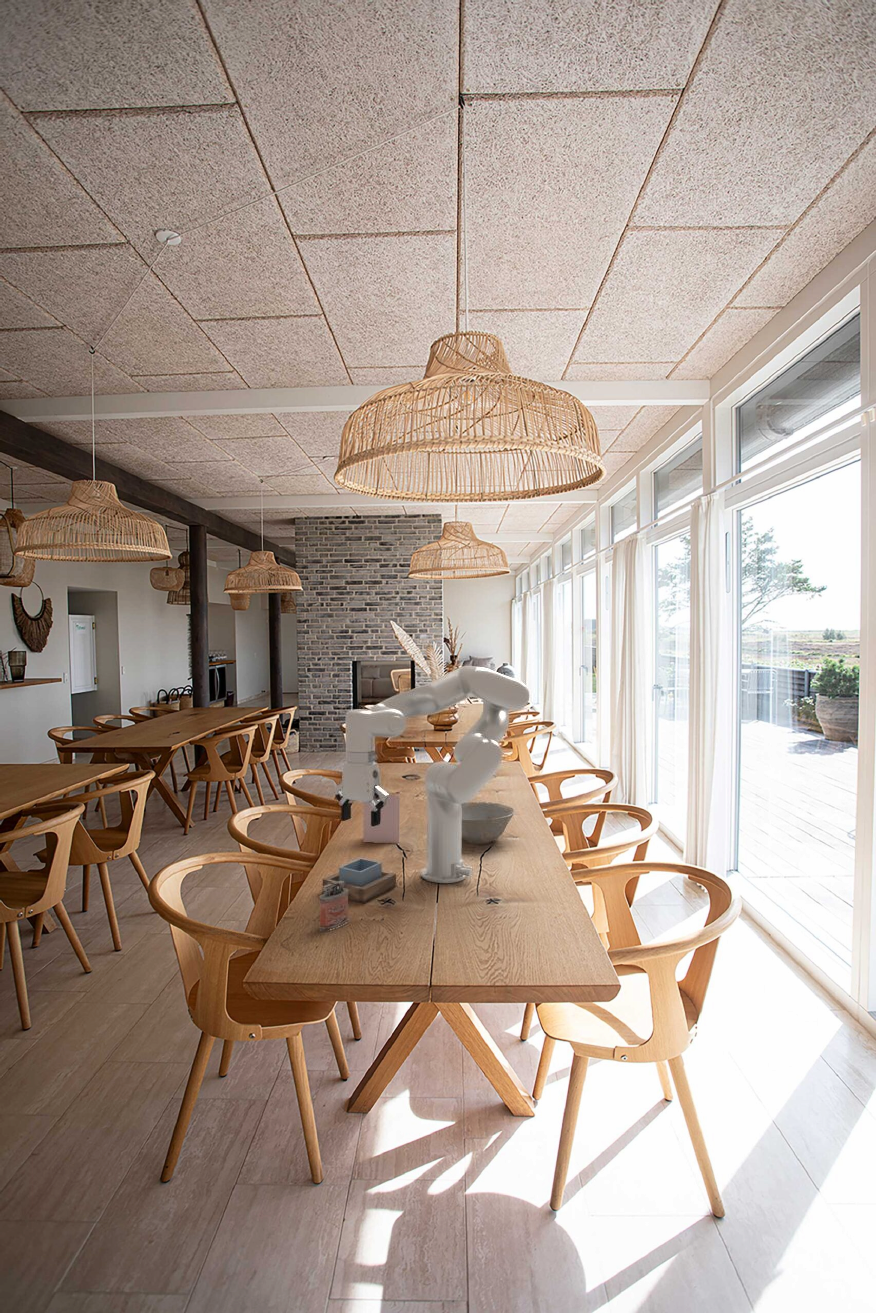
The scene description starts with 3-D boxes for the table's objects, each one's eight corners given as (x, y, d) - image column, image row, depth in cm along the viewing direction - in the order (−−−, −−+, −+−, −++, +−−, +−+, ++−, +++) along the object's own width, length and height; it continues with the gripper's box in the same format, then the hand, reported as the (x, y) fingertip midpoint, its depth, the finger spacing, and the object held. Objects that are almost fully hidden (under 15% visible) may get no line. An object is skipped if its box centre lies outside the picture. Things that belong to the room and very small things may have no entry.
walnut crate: (396, 886, 189) (396, 873, 189) (364, 903, 178) (364, 889, 178) (355, 877, 196) (355, 864, 196) (322, 892, 185) (322, 879, 185)
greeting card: (400, 841, 229) (401, 795, 229) (386, 847, 223) (386, 800, 223) (373, 835, 236) (373, 790, 235) (358, 841, 230) (358, 795, 229)
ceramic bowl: (435, 846, 225) (435, 815, 224) (457, 827, 246) (457, 799, 246) (504, 854, 218) (504, 822, 217) (520, 834, 239) (520, 804, 239)
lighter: (341, 918, 169) (341, 876, 168) (351, 921, 167) (351, 879, 166) (315, 928, 162) (315, 885, 162) (325, 932, 160) (325, 888, 160)
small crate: (381, 885, 189) (381, 862, 189) (360, 895, 181) (360, 872, 181) (360, 879, 193) (360, 857, 192) (339, 890, 185) (339, 867, 185)
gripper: (396, 758, 184) (396, 823, 185) (343, 752, 194) (344, 814, 194) (378, 762, 178) (378, 830, 179) (325, 756, 187) (325, 821, 188)
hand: (360, 822), depth 187 cm, fingers open, 9 cm apart
